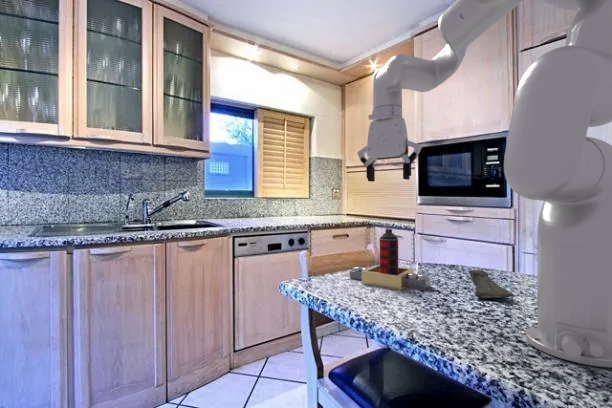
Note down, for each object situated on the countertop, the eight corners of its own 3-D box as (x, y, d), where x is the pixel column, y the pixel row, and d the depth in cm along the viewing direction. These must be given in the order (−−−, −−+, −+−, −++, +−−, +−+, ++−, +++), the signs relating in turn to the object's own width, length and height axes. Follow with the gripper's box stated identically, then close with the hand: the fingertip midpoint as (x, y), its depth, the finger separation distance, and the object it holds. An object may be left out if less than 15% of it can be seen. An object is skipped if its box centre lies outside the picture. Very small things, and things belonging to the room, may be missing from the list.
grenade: (373, 280, 90) (373, 226, 90) (389, 279, 91) (389, 225, 91) (385, 286, 84) (384, 228, 84) (401, 285, 85) (401, 227, 85)
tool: (516, 303, 70) (515, 289, 70) (476, 302, 72) (476, 289, 72) (487, 275, 90) (486, 264, 90) (456, 275, 92) (456, 264, 92)
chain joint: (422, 293, 77) (422, 278, 77) (344, 282, 89) (344, 269, 89) (433, 284, 86) (433, 271, 86) (361, 275, 98) (361, 263, 98)
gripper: (351, 118, 89) (352, 181, 89) (416, 106, 79) (417, 177, 79) (363, 124, 95) (364, 182, 95) (424, 114, 85) (425, 179, 85)
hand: (388, 180), depth 87 cm, fingers open, 9 cm apart
